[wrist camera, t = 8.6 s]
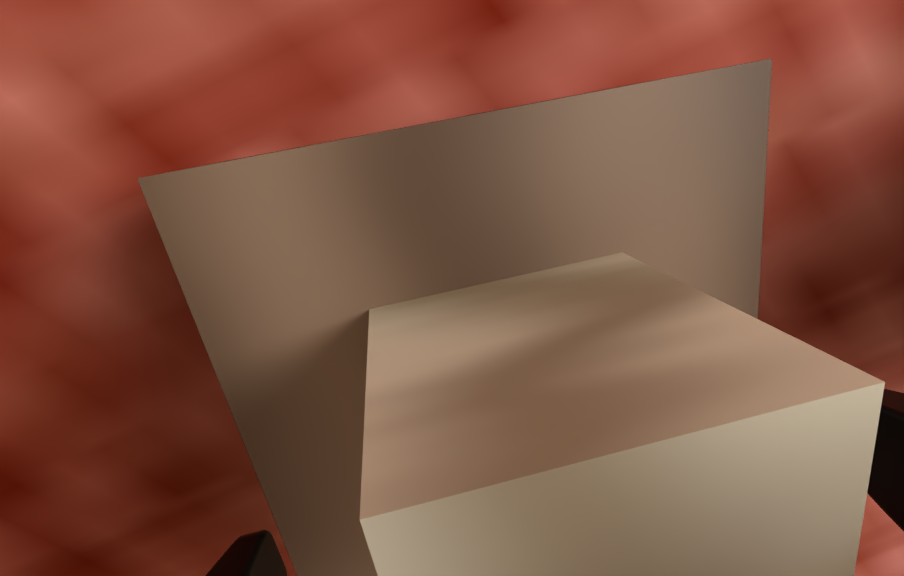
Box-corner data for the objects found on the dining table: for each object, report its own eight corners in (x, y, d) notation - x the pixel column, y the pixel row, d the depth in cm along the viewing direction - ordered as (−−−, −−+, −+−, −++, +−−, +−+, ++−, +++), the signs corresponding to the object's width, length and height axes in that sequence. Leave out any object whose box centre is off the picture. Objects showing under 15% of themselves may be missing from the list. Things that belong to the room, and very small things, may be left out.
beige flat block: (649, 81, 12) (771, 59, 8) (659, 429, 16) (746, 522, 12) (218, 162, 11) (137, 178, 7) (336, 512, 15) (323, 640, 11)
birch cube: (622, 252, 9) (884, 381, 4) (633, 457, 11) (832, 709, 6) (369, 309, 9) (360, 520, 4) (423, 513, 10) (460, 828, 6)
